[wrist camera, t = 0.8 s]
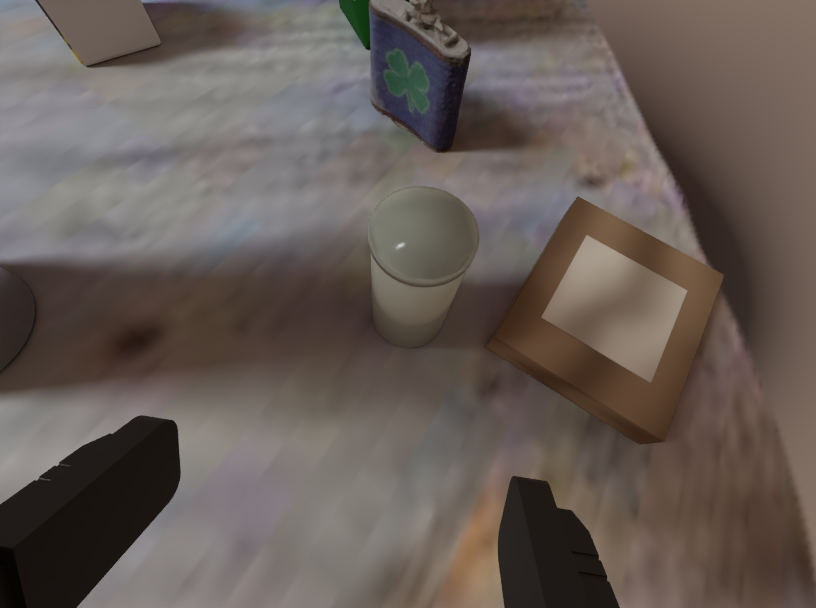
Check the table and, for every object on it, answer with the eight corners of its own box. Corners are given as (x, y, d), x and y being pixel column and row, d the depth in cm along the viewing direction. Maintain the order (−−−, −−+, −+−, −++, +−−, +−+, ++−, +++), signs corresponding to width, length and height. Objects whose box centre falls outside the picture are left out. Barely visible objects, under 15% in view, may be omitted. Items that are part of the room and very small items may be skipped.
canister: (356, 322, 29) (345, 242, 19) (397, 268, 31) (408, 169, 21) (419, 364, 28) (442, 303, 18) (457, 305, 30) (498, 220, 20)
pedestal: (485, 347, 29) (494, 336, 27) (564, 214, 34) (578, 195, 32) (639, 444, 27) (665, 441, 25) (699, 289, 32) (725, 274, 30)
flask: (364, 103, 37) (360, -30, 27) (386, 87, 38) (390, -46, 28) (440, 159, 35) (465, 38, 26) (460, 141, 36) (492, 18, 27)
